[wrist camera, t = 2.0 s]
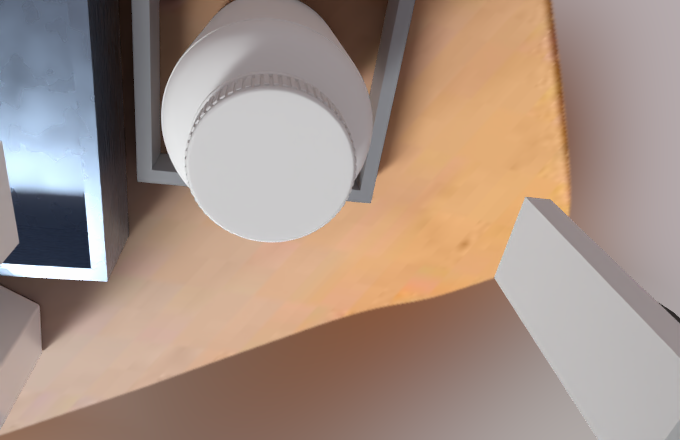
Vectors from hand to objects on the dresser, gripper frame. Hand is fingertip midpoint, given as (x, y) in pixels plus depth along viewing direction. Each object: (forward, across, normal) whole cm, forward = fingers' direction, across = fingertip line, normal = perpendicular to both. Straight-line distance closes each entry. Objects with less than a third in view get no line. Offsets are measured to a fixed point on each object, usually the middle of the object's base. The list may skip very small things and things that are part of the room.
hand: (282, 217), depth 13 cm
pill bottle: (+18, 0, 0) cm, 18 cm away
